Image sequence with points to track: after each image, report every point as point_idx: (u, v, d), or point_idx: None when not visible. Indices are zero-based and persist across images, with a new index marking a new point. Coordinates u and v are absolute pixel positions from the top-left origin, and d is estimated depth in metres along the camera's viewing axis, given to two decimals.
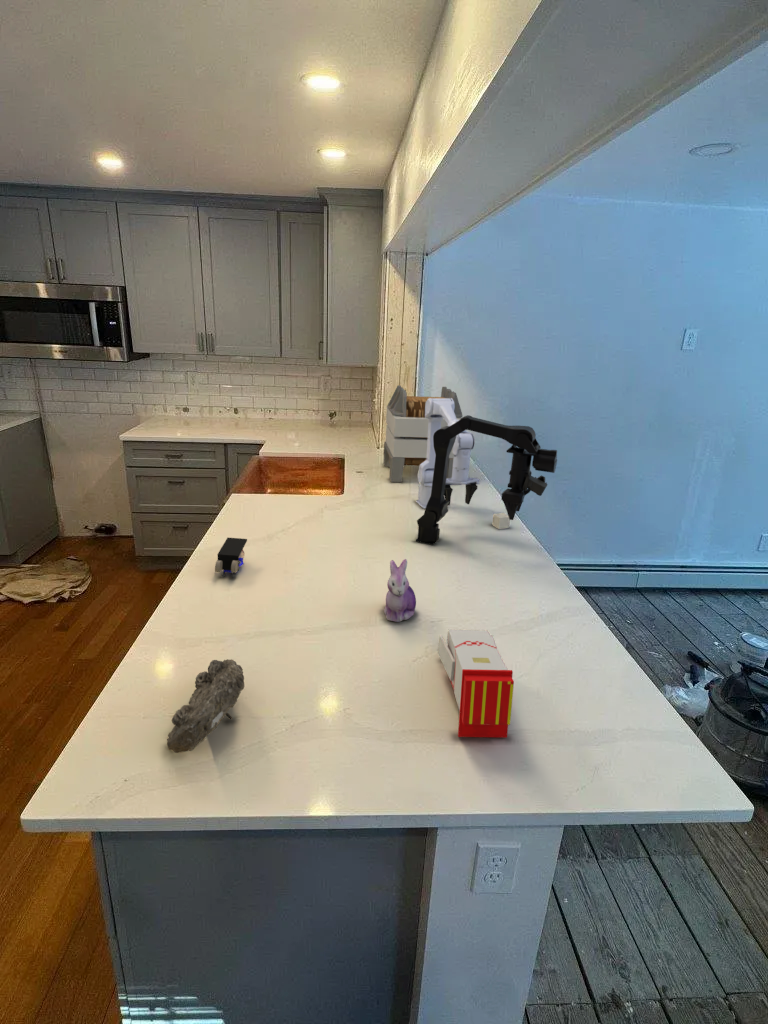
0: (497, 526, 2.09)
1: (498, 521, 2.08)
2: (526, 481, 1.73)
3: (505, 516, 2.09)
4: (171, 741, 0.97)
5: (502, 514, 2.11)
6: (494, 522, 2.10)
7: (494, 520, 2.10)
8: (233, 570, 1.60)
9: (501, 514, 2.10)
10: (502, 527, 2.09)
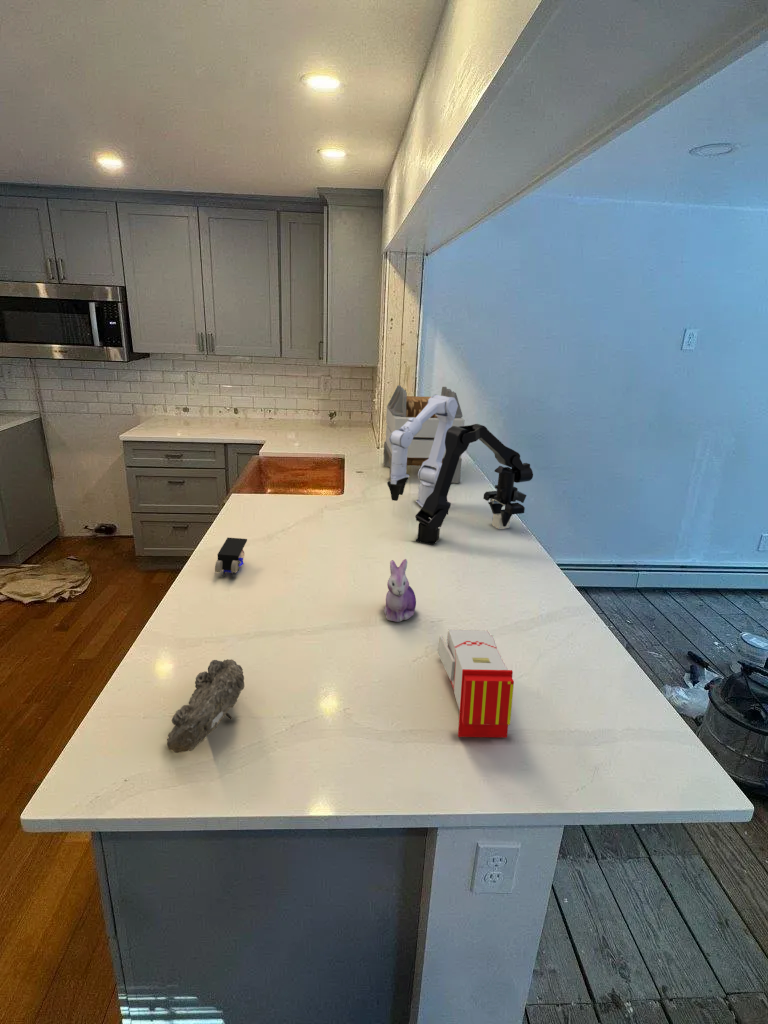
0: (497, 526, 2.09)
1: (498, 521, 2.08)
2: (515, 494, 2.05)
3: None
4: (171, 741, 0.97)
5: None
6: (494, 522, 2.10)
7: (494, 520, 2.10)
8: (233, 570, 1.60)
9: None
10: (502, 527, 2.09)
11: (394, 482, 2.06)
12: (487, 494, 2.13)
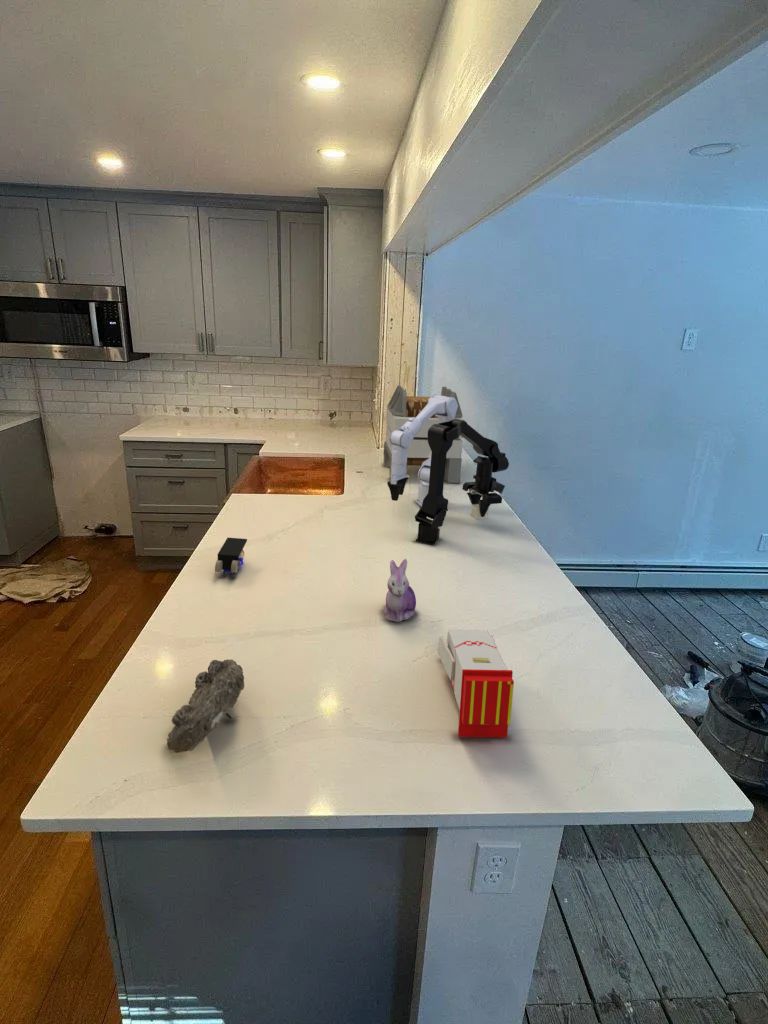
0: (475, 516, 2.08)
1: (476, 511, 2.07)
2: (493, 484, 2.05)
3: None
4: (171, 741, 0.97)
5: None
6: (472, 512, 2.10)
7: (472, 510, 2.10)
8: (233, 570, 1.60)
9: None
10: (480, 517, 2.08)
11: (394, 482, 2.06)
12: (466, 484, 2.12)
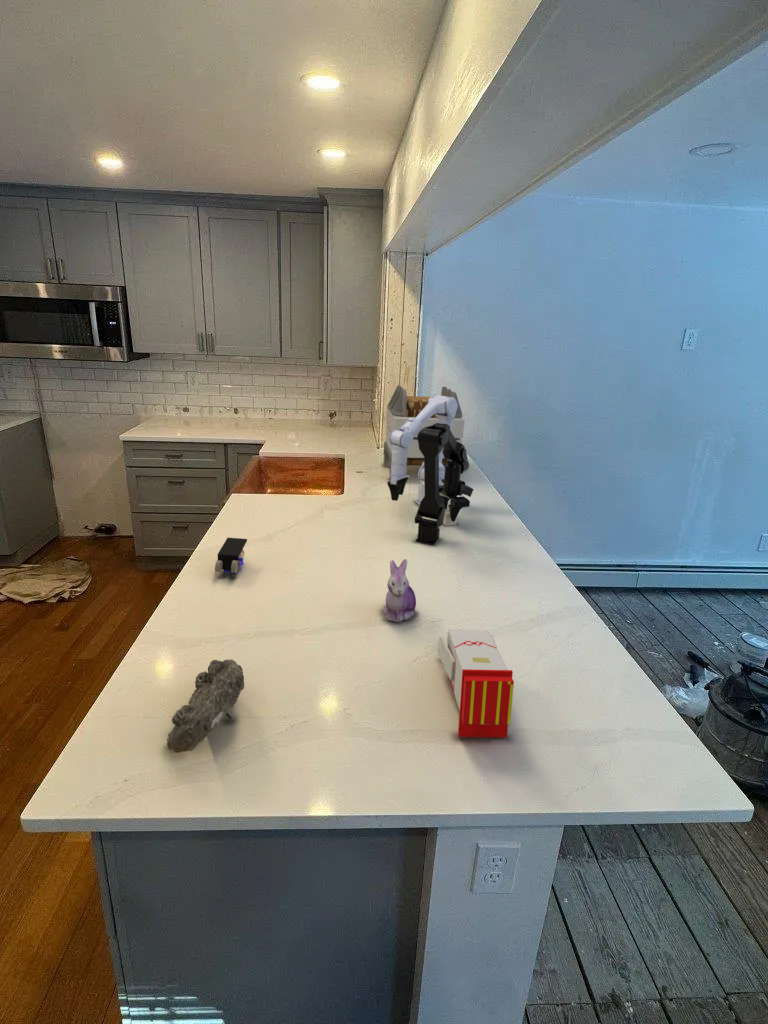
0: (444, 522, 2.10)
1: (445, 517, 2.09)
2: (461, 487, 2.06)
3: None
4: (171, 741, 0.97)
5: None
6: None
7: None
8: (233, 570, 1.60)
9: (448, 510, 2.12)
10: (449, 523, 2.10)
11: (394, 482, 2.06)
12: None
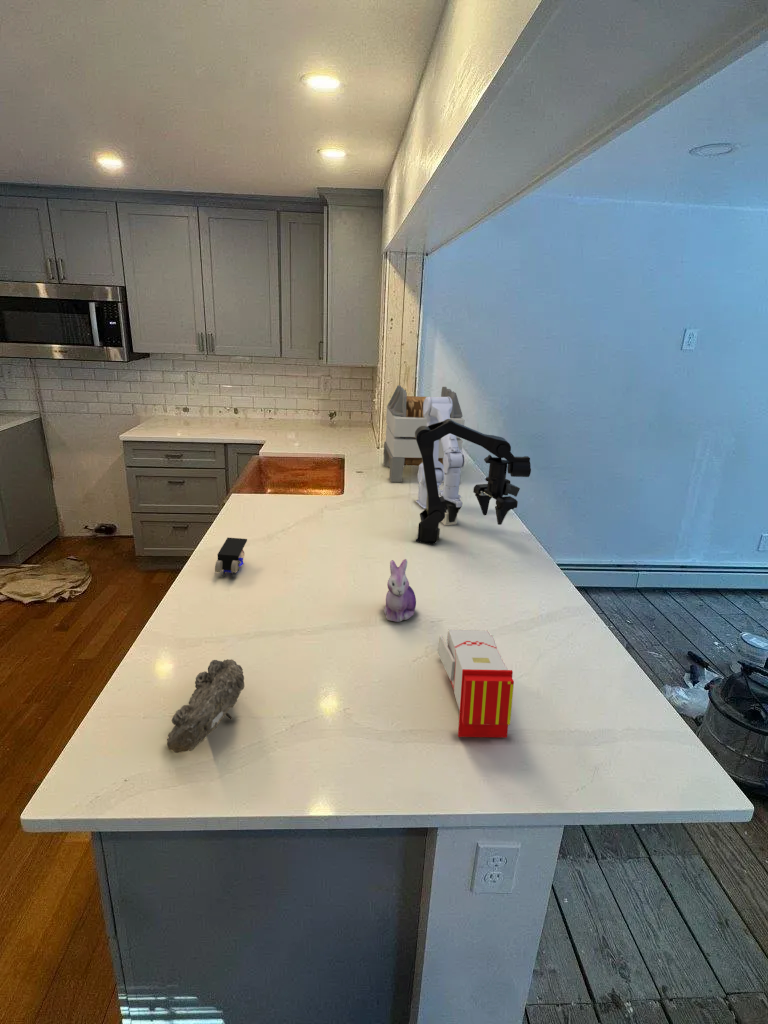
0: (444, 522, 2.10)
1: (445, 517, 2.09)
2: (507, 486, 1.88)
3: None
4: (171, 741, 0.97)
5: None
6: None
7: None
8: (233, 570, 1.60)
9: None
10: (449, 523, 2.10)
11: (460, 505, 2.03)
12: (477, 487, 1.95)
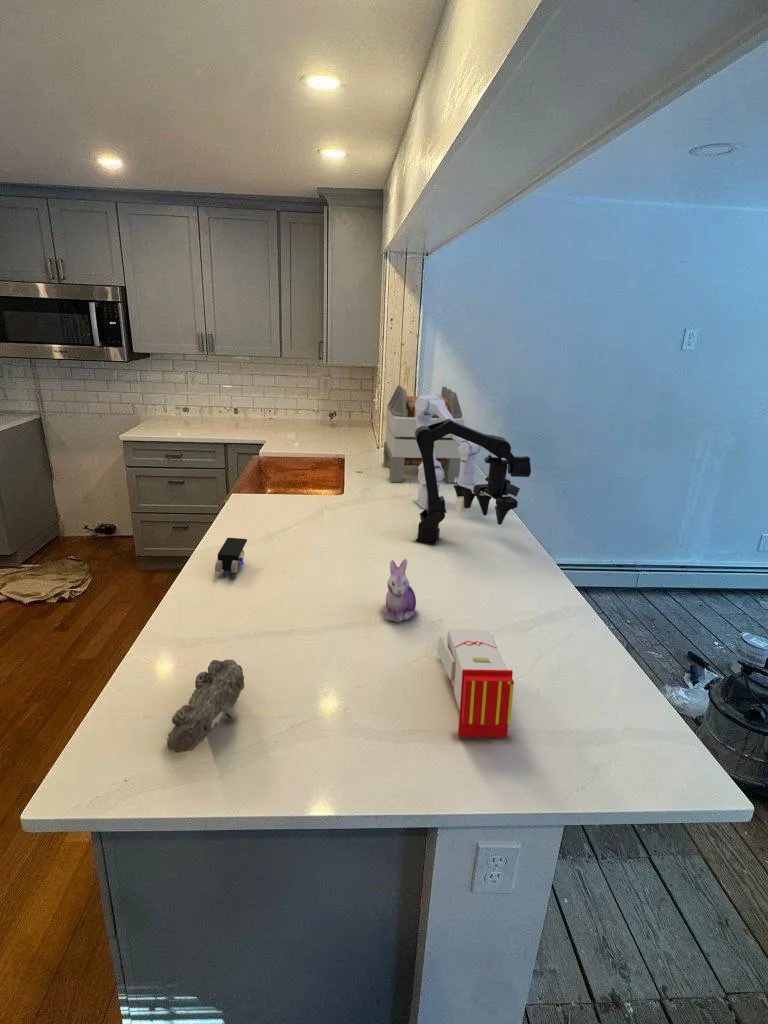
0: (460, 508, 2.15)
1: (460, 503, 2.14)
2: (507, 486, 1.88)
3: None
4: (171, 741, 0.97)
5: None
6: (457, 505, 2.17)
7: (457, 503, 2.17)
8: (233, 570, 1.60)
9: None
10: (464, 509, 2.15)
11: None
12: (477, 487, 1.95)
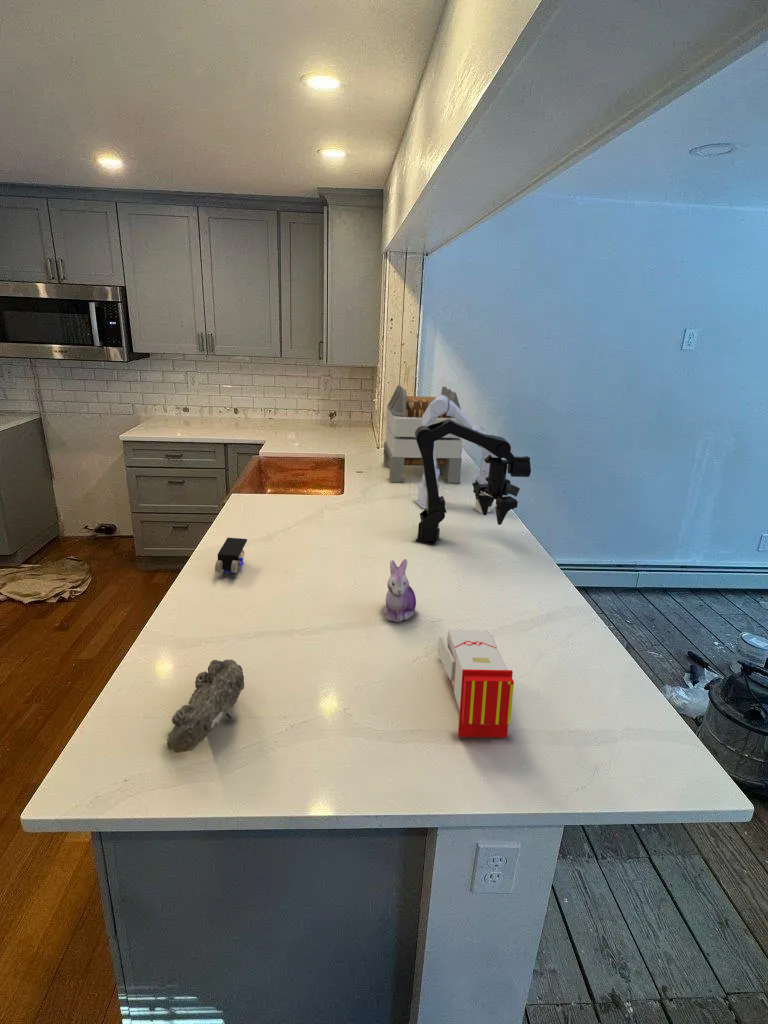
0: (479, 510, 2.25)
1: None
2: (507, 486, 1.88)
3: None
4: (171, 741, 0.97)
5: None
6: (477, 506, 2.27)
7: (477, 504, 2.27)
8: (233, 570, 1.60)
9: None
10: None
11: None
12: (477, 487, 1.95)
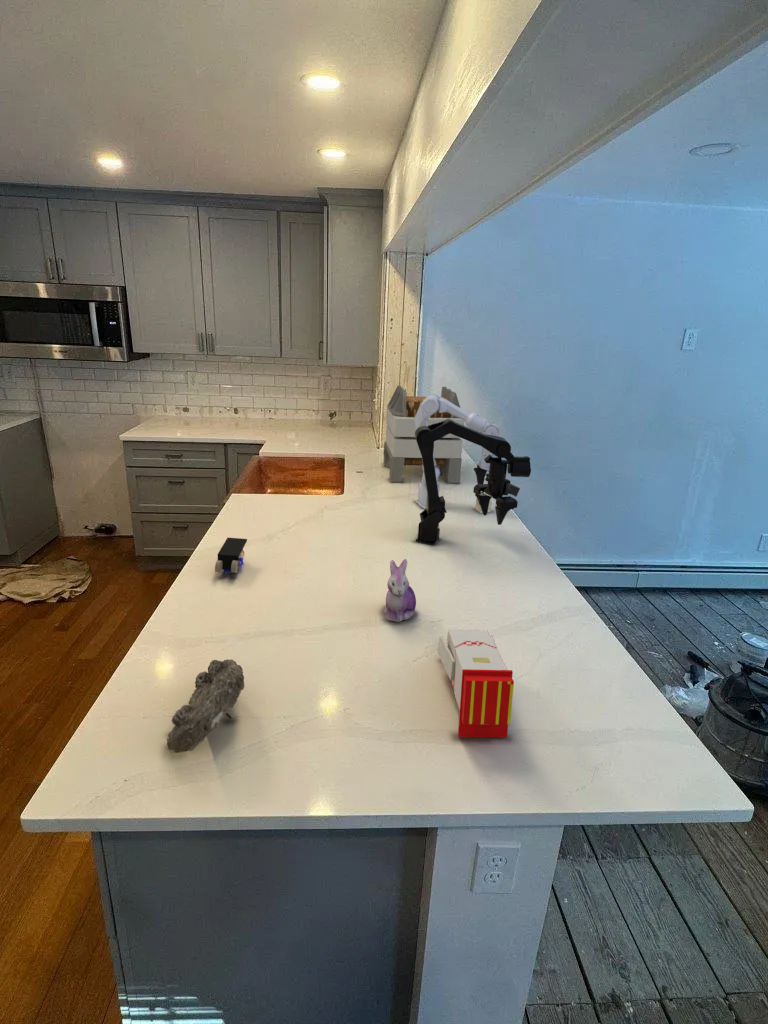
0: (479, 510, 2.25)
1: None
2: (507, 486, 1.88)
3: None
4: (171, 741, 0.97)
5: None
6: (477, 506, 2.27)
7: (477, 504, 2.27)
8: (233, 570, 1.60)
9: None
10: None
11: None
12: (477, 487, 1.95)
